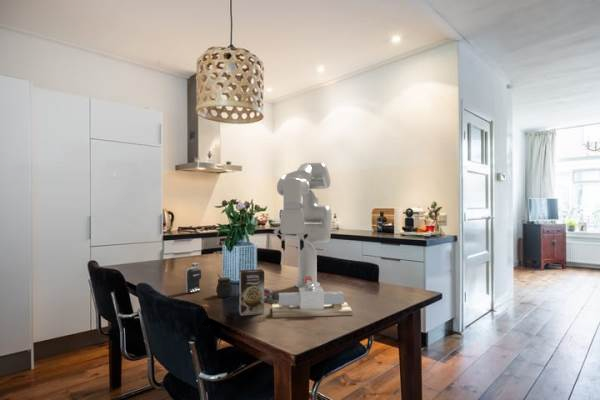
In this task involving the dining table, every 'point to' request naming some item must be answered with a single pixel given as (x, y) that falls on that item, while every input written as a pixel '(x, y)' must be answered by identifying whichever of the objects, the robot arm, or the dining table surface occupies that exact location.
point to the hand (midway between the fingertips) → (292, 249)
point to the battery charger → (193, 280)
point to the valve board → (311, 311)
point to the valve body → (311, 298)
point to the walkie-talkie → (270, 295)
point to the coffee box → (251, 292)
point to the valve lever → (309, 282)
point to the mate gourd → (224, 287)
